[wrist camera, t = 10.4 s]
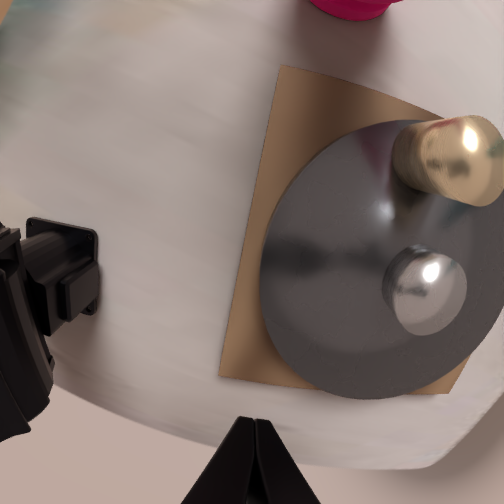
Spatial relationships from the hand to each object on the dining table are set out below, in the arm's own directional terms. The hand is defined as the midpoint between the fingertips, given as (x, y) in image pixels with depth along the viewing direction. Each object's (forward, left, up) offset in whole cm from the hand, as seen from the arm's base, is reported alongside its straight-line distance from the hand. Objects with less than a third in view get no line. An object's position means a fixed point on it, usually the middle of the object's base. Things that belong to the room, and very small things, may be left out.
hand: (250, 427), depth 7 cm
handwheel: (+9, +2, -11) cm, 15 cm away
